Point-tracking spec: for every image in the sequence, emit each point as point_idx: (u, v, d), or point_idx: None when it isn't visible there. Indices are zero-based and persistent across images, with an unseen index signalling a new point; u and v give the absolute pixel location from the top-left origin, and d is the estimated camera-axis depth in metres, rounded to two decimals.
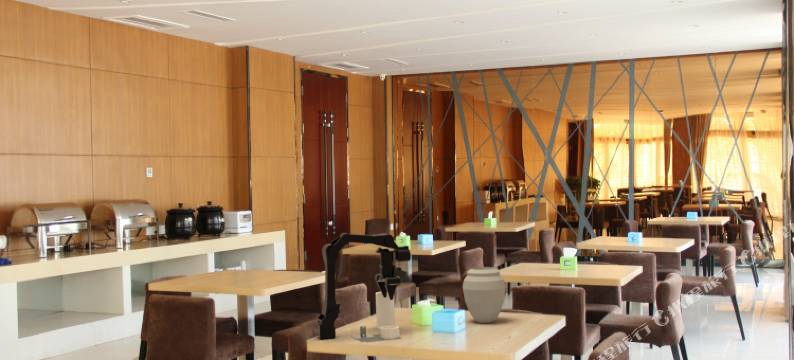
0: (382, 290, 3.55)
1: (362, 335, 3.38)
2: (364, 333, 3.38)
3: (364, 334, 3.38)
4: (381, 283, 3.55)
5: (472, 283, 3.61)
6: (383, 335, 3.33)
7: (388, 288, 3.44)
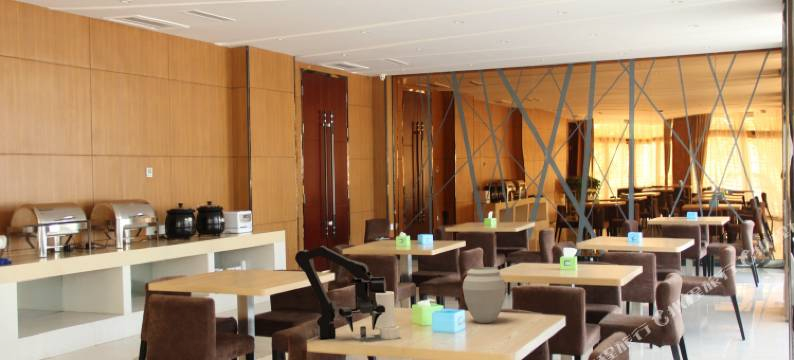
0: (372, 321, 3.41)
1: (362, 335, 3.38)
2: (364, 333, 3.38)
3: (364, 334, 3.38)
4: (372, 314, 3.42)
5: (472, 283, 3.61)
6: (383, 335, 3.33)
7: (346, 318, 3.38)
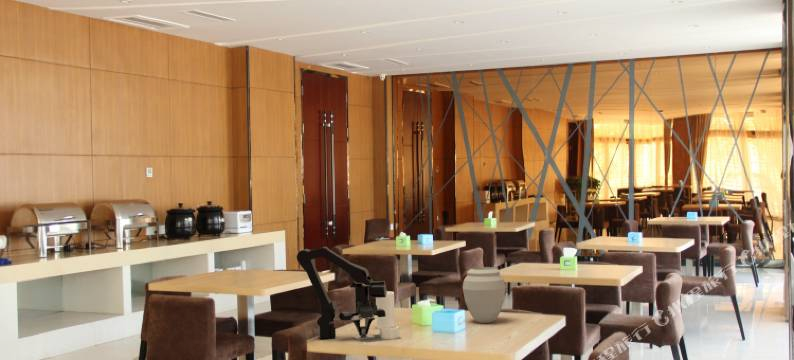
0: None
1: (362, 335, 3.38)
2: (364, 333, 3.38)
3: (364, 334, 3.38)
4: (366, 319, 3.41)
5: (472, 283, 3.61)
6: (383, 335, 3.33)
7: (354, 322, 3.39)
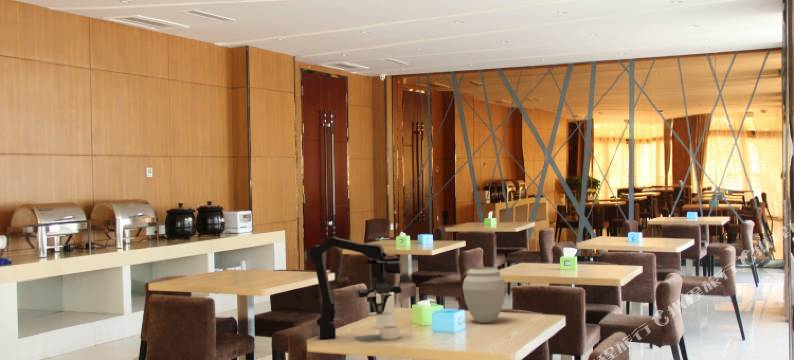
0: None
1: (378, 312, 3.36)
2: (380, 310, 3.36)
3: (380, 311, 3.36)
4: (382, 296, 3.39)
5: (472, 283, 3.61)
6: (383, 335, 3.33)
7: (370, 299, 3.38)
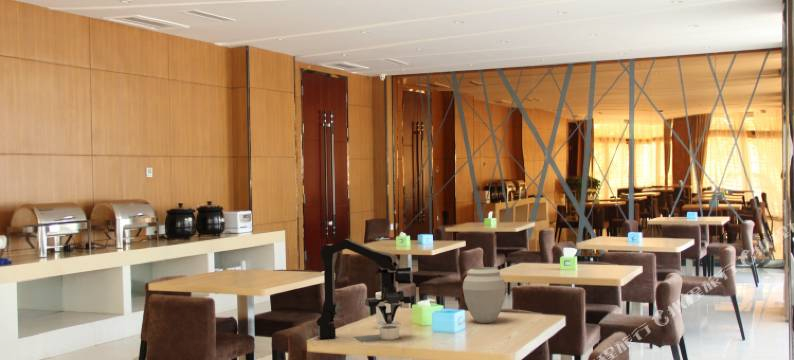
0: None
1: (388, 321, 3.35)
2: (390, 319, 3.35)
3: (390, 320, 3.35)
4: (391, 305, 3.38)
5: (472, 283, 3.61)
6: (383, 335, 3.33)
7: (380, 308, 3.37)
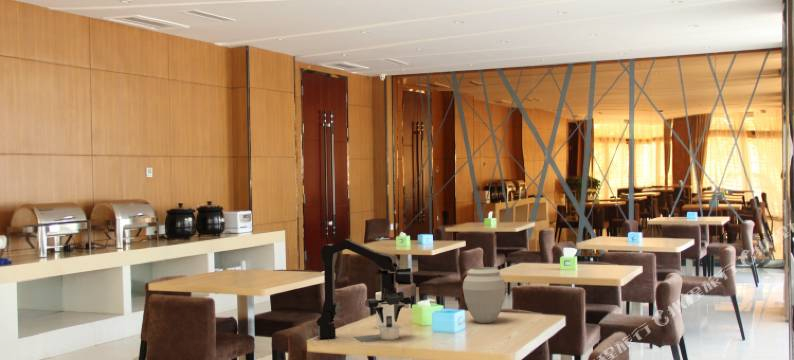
0: (394, 313, 3.38)
1: (388, 325, 3.35)
2: (390, 323, 3.35)
3: (390, 324, 3.35)
4: (395, 306, 3.38)
5: (472, 283, 3.61)
6: (383, 335, 3.33)
7: (376, 310, 3.36)
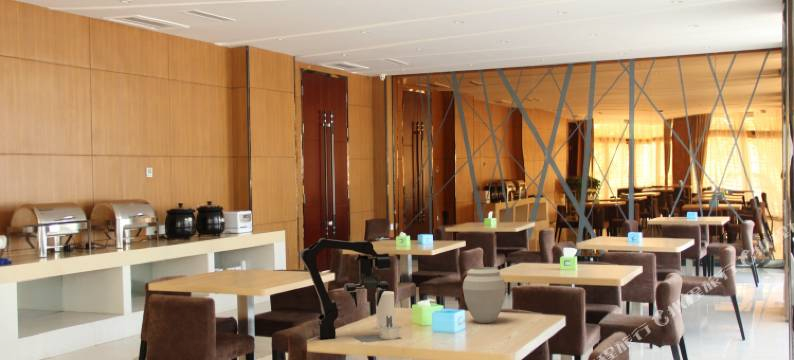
0: (376, 298, 3.49)
1: (388, 325, 3.35)
2: (390, 323, 3.35)
3: (390, 324, 3.35)
4: (377, 291, 3.49)
5: (472, 283, 3.61)
6: (383, 335, 3.33)
7: (351, 294, 3.46)
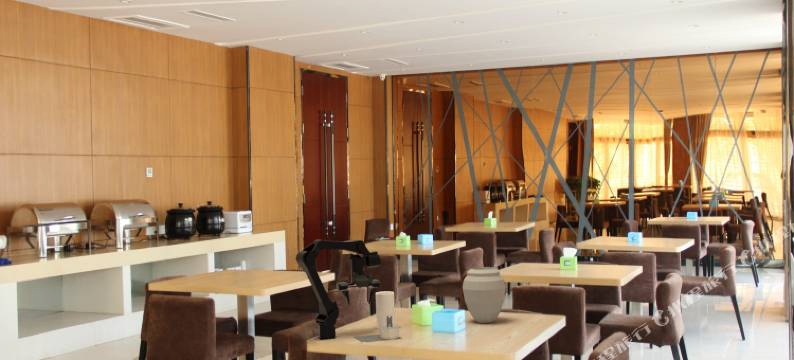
0: (368, 296, 3.53)
1: (388, 325, 3.35)
2: (390, 323, 3.35)
3: (390, 324, 3.35)
4: (368, 289, 3.53)
5: (472, 283, 3.61)
6: (383, 335, 3.33)
7: (343, 293, 3.50)
